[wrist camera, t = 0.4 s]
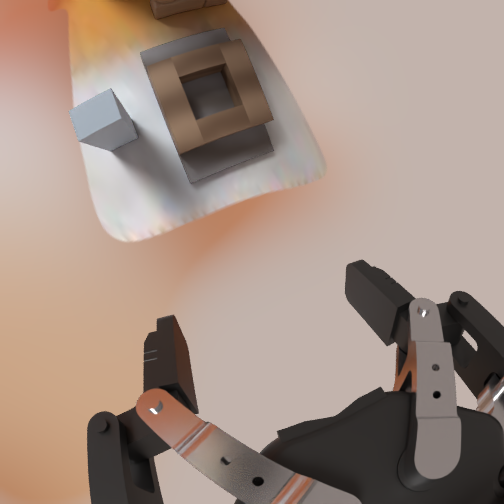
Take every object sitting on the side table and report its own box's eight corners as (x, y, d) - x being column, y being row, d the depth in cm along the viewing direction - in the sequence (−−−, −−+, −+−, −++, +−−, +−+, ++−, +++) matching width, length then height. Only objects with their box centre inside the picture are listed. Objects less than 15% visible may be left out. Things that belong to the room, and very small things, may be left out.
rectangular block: (103, 131, 29) (68, 111, 16) (130, 117, 29) (110, 88, 17) (110, 151, 30) (78, 141, 17) (138, 137, 31) (121, 118, 18)
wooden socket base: (140, 55, 27) (138, 41, 23) (222, 30, 29) (230, 16, 25) (190, 183, 34) (193, 185, 30) (271, 150, 36) (284, 149, 32)
